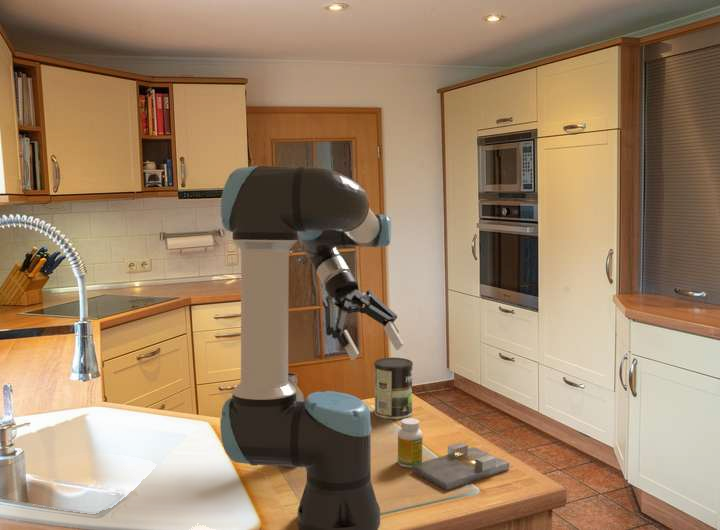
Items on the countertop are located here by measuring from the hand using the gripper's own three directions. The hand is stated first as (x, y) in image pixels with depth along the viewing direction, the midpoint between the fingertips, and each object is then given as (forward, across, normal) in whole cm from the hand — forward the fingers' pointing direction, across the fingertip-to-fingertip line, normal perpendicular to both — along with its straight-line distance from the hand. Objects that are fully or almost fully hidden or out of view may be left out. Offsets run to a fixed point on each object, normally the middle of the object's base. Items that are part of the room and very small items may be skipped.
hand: (378, 352), depth 157 cm
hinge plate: (+31, -5, -1) cm, 31 cm away
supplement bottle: (+24, +1, -8) cm, 26 cm away
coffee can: (+6, -19, -28) cm, 34 cm away
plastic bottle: (+12, +21, -21) cm, 32 cm away
